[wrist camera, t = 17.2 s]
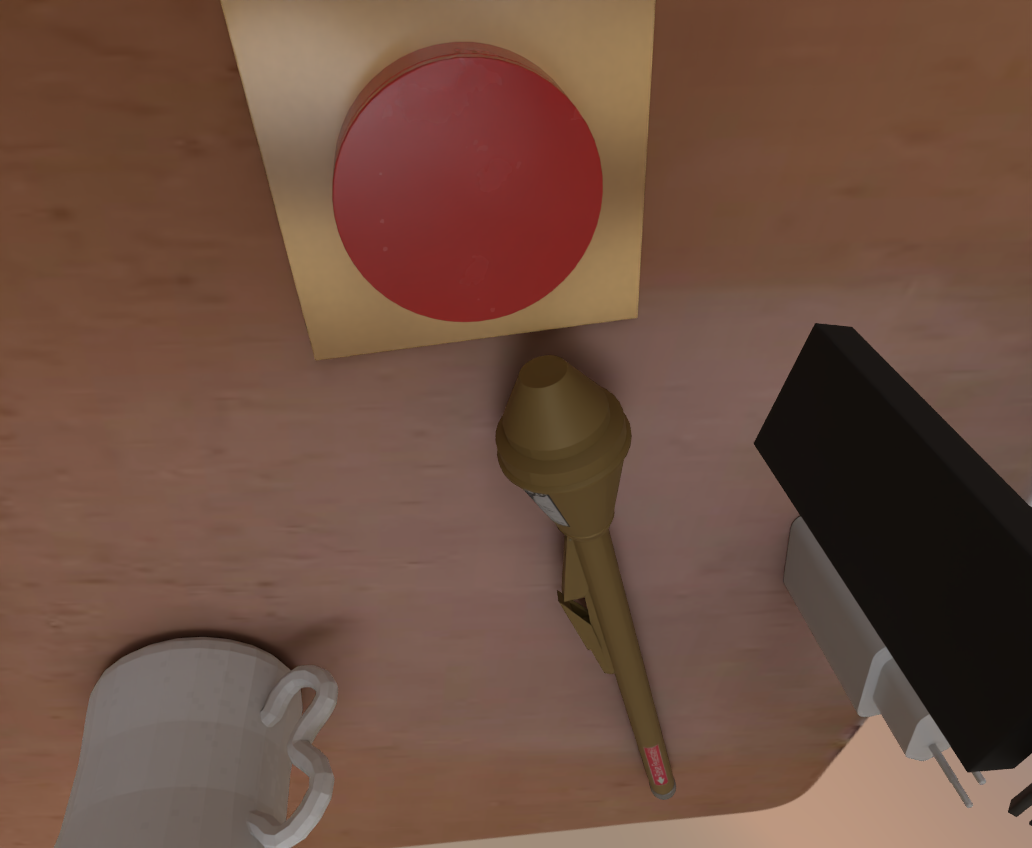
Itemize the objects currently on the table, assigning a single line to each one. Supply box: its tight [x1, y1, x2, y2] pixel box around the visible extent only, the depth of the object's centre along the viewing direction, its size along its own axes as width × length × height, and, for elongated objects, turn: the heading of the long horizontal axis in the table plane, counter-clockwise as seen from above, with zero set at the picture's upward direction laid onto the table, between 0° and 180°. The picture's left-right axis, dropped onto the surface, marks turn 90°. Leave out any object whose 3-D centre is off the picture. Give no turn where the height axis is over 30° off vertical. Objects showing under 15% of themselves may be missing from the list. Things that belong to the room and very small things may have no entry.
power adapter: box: [783, 516, 986, 808], centre depth 31 cm, size 3×5×12 cm, turn 8°
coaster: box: [220, 0, 656, 360], centre depth 22 cm, size 11×11×1 cm
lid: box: [332, 42, 603, 322], centre depth 21 cm, size 8×7×2 cm
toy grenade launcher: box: [496, 355, 676, 800], centre depth 36 cm, size 5×35×5 cm
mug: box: [54, 637, 338, 848], centre depth 31 cm, size 12×9×10 cm
